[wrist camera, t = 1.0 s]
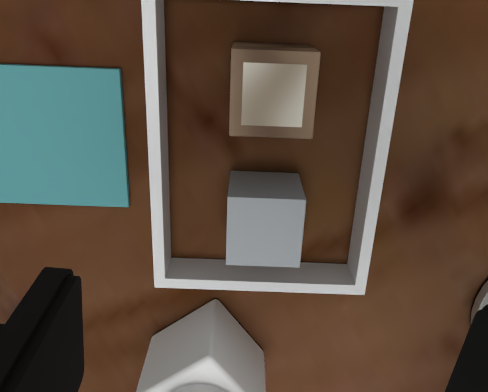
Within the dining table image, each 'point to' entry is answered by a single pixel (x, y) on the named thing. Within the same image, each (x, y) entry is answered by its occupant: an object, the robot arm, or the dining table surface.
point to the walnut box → (273, 89)
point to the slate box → (265, 219)
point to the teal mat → (62, 136)
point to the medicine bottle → (203, 355)
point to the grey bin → (369, 189)
